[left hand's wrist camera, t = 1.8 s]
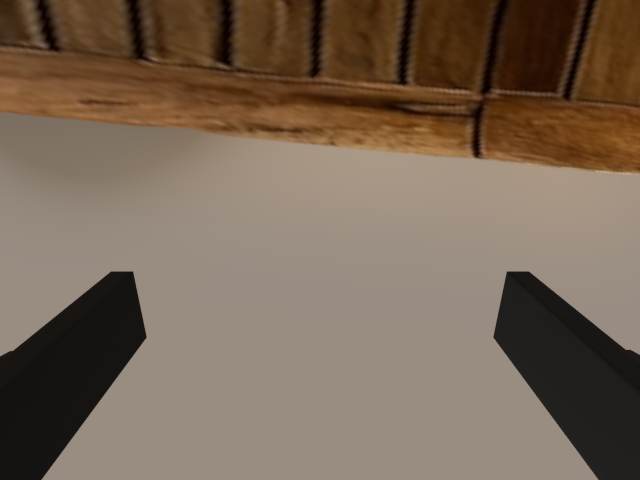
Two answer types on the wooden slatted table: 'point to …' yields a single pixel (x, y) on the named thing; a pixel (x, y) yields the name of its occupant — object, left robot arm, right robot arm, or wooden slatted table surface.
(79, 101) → the wooden slatted table surface
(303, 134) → the wooden slatted table surface
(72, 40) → the wooden slatted table surface
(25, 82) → the wooden slatted table surface
